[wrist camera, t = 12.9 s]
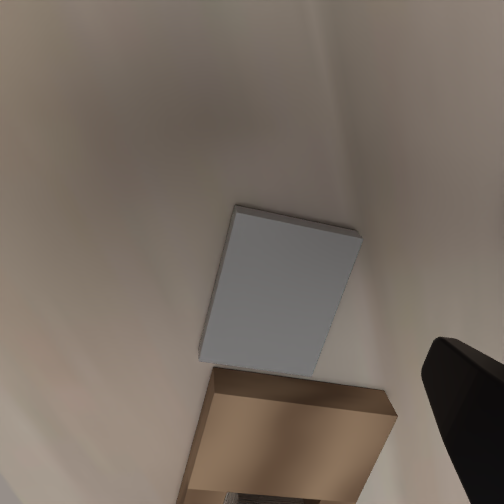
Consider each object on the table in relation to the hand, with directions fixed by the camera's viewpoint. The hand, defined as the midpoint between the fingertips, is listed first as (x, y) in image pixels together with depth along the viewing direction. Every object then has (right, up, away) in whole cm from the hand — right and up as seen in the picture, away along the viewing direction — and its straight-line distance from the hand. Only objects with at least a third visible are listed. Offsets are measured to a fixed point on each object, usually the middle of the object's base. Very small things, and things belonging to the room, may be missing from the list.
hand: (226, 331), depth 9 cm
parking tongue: (+2, 0, +14) cm, 14 cm away
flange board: (+2, -12, +19) cm, 22 cm away
